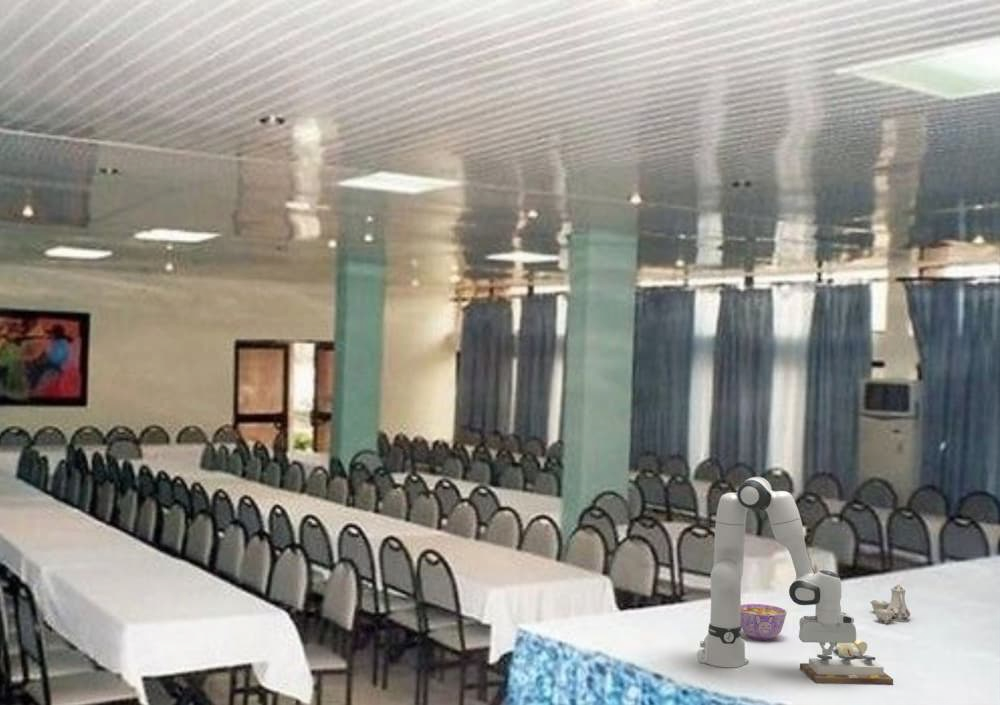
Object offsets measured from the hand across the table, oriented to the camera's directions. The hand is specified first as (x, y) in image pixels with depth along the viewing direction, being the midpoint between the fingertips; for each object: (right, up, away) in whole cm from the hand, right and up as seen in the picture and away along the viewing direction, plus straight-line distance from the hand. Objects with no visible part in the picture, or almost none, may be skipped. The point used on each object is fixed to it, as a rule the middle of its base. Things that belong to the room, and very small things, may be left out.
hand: (827, 654), depth 404 cm
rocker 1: (0, -1, +2) cm, 3 cm away
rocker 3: (+16, -2, +3) cm, 16 cm away
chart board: (+7, -9, +2) cm, 12 cm away
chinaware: (+56, -10, +95) cm, 111 cm away
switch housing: (+7, -7, +2) cm, 10 cm away
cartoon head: (+17, -9, +32) cm, 37 cm away
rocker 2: (+8, -2, +2) cm, 8 cm away
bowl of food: (-11, -8, +55) cm, 56 cm away
